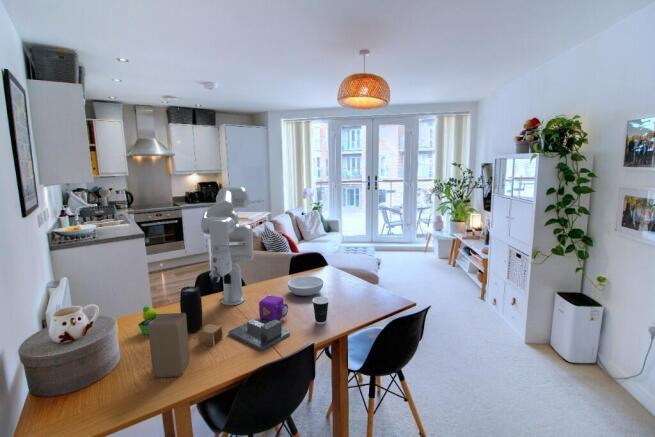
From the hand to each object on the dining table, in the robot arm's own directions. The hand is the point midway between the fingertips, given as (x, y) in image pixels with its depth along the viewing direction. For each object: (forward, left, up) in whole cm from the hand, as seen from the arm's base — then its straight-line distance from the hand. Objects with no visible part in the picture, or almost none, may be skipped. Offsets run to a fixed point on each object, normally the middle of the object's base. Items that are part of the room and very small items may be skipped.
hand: (222, 287), depth 142 cm
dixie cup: (+26, +35, -22) cm, 49 cm away
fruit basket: (-30, -17, -22) cm, 41 cm away
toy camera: (+5, +25, -22) cm, 34 cm away
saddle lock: (0, -7, -22) cm, 23 cm away
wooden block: (+6, -27, -22) cm, 35 cm away
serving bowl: (-4, +58, -22) cm, 62 cm away
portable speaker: (-16, -6, -22) cm, 28 cm away
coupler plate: (+12, +9, -22) cm, 27 cm away
